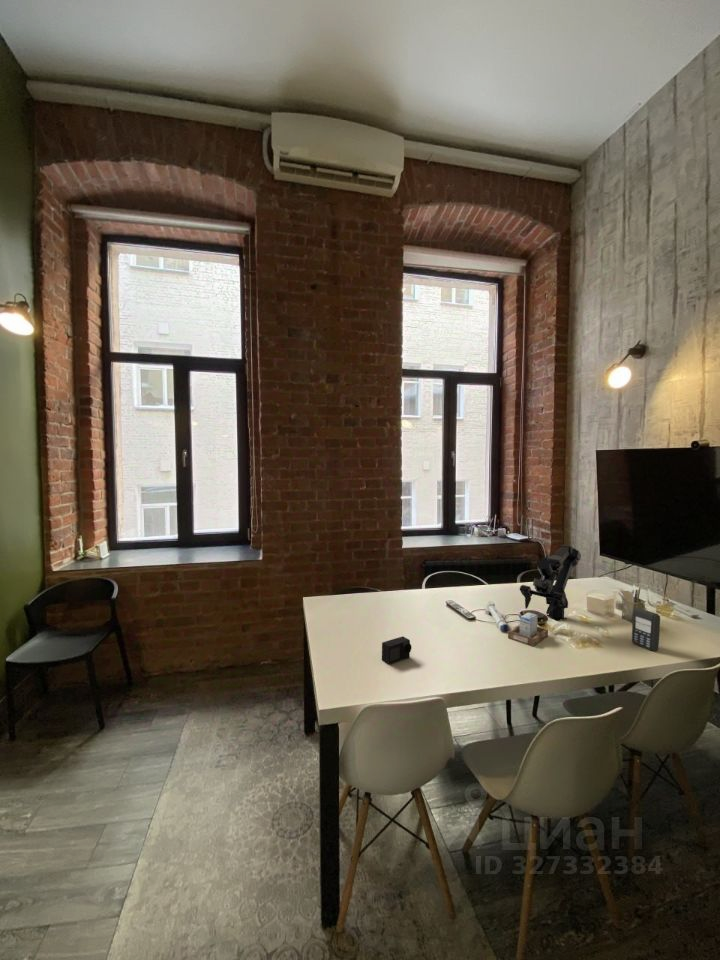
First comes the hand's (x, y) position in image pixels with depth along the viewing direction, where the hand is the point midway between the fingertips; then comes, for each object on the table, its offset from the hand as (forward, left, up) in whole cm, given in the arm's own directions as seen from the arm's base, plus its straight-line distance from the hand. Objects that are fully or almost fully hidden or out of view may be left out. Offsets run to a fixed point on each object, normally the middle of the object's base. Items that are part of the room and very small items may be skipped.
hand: (536, 611), depth 179 cm
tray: (+7, +3, -10) cm, 12 cm away
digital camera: (+70, +4, -10) cm, 71 cm away
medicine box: (+7, +3, -9) cm, 12 cm away
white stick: (+9, -16, -10) cm, 21 cm away
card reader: (-33, +25, -10) cm, 43 cm away
